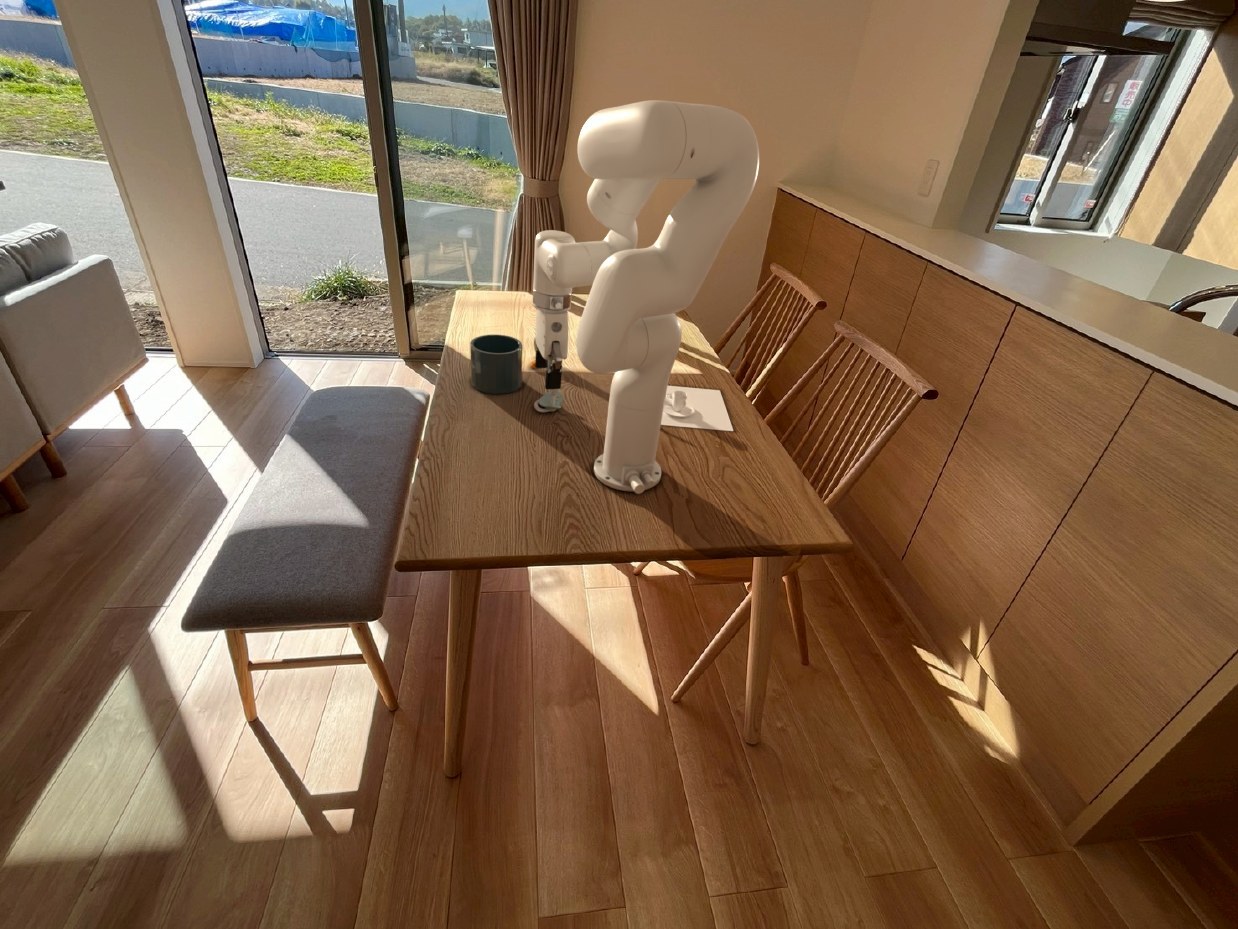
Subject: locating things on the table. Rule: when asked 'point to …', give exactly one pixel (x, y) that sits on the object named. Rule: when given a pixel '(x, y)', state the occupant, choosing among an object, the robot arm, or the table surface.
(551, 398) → the pacifier
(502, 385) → the cup
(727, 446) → the table surface
